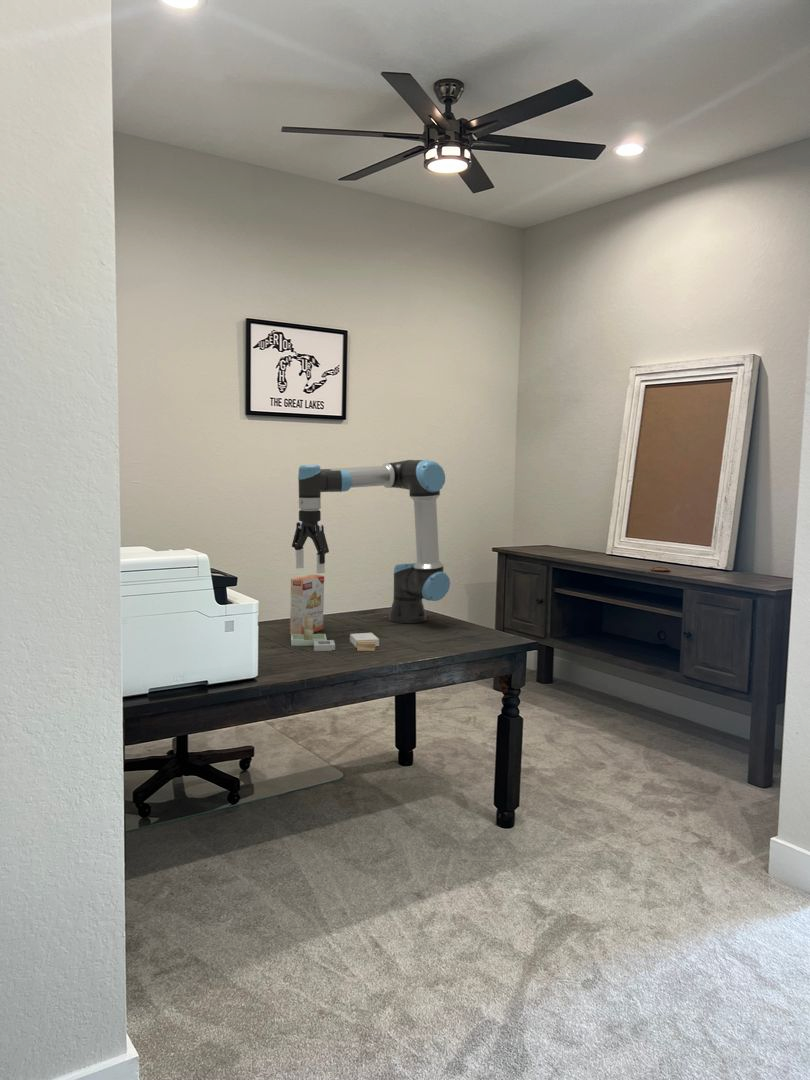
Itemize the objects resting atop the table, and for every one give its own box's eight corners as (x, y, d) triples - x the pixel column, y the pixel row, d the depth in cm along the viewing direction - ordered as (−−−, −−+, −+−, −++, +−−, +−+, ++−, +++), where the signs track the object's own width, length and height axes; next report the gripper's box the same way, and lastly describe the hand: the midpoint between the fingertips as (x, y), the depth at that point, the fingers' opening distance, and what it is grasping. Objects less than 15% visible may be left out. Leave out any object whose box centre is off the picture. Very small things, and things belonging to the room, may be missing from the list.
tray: (290, 639, 278) (291, 634, 278) (325, 639, 280) (325, 633, 280) (291, 646, 269) (291, 640, 269) (326, 645, 271) (326, 639, 271)
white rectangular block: (349, 642, 279) (349, 633, 278) (371, 640, 281) (371, 632, 281) (356, 648, 269) (356, 640, 269) (378, 647, 271) (378, 639, 271)
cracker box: (302, 637, 283) (303, 580, 280) (289, 635, 286) (289, 578, 283) (324, 630, 295) (325, 575, 293) (311, 628, 298) (311, 573, 296)
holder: (313, 646, 270) (313, 640, 270) (333, 645, 271) (333, 640, 271) (314, 651, 263) (314, 645, 263) (335, 650, 264) (335, 644, 264)
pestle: (302, 640, 275) (302, 615, 274) (309, 639, 277) (310, 614, 276) (307, 642, 272) (307, 617, 271) (314, 641, 274) (315, 616, 273)
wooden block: (356, 648, 268) (356, 641, 268) (373, 647, 269) (373, 640, 269) (357, 651, 264) (357, 643, 264) (375, 650, 265) (375, 643, 265)
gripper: (281, 507, 277) (282, 567, 279) (320, 512, 258) (320, 576, 260) (300, 507, 282) (300, 565, 284) (339, 511, 262) (339, 574, 265)
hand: (310, 570), depth 272 cm, fingers open, 13 cm apart
